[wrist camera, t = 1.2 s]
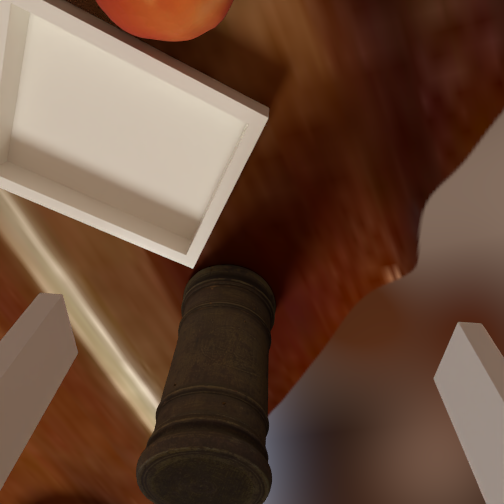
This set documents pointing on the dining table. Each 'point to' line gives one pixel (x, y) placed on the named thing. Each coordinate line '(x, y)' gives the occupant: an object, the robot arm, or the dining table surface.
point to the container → (215, 396)
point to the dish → (117, 129)
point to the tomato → (166, 17)
